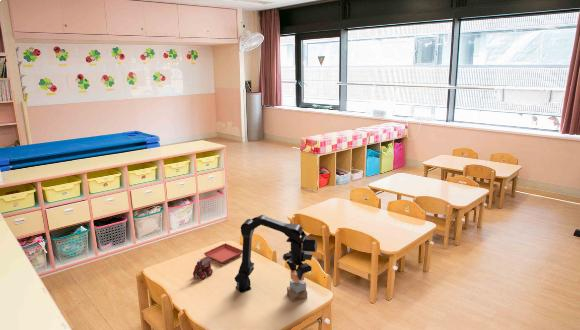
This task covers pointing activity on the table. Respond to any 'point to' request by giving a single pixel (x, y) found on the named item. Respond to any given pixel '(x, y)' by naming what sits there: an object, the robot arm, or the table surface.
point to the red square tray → (223, 253)
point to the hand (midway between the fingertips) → (297, 277)
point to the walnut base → (296, 294)
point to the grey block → (298, 286)
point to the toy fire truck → (203, 268)
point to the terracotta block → (295, 276)
